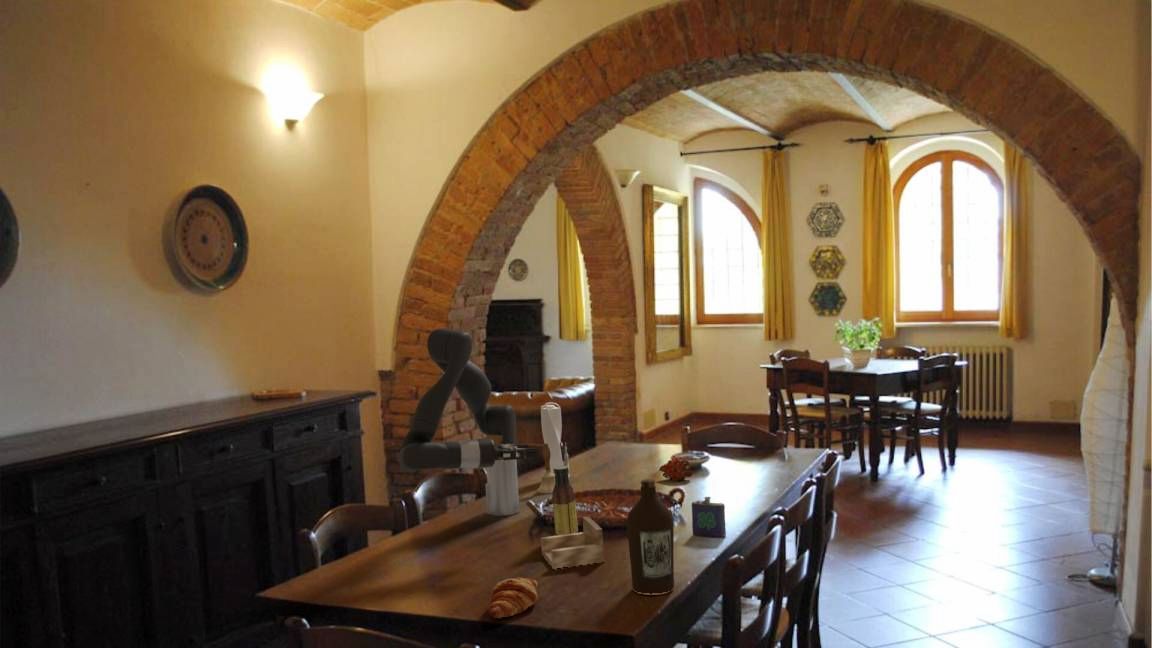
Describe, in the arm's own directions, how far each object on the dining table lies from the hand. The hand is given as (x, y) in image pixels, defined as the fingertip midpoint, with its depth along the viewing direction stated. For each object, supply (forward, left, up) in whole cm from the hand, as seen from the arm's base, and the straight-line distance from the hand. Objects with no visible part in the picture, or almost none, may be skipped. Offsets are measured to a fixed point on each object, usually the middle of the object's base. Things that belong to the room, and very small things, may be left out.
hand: (533, 450), depth 251 cm
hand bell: (-14, +56, -25) cm, 63 cm away
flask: (+45, +8, -25) cm, 53 cm away
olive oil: (+38, -34, -25) cm, 57 cm away
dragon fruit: (+27, +72, -25) cm, 81 cm away
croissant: (+10, -48, -26) cm, 55 cm away
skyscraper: (-16, +72, -25) cm, 78 cm away
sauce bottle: (+7, +3, -25) cm, 27 cm away
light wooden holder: (+13, -14, -25) cm, 32 cm away
